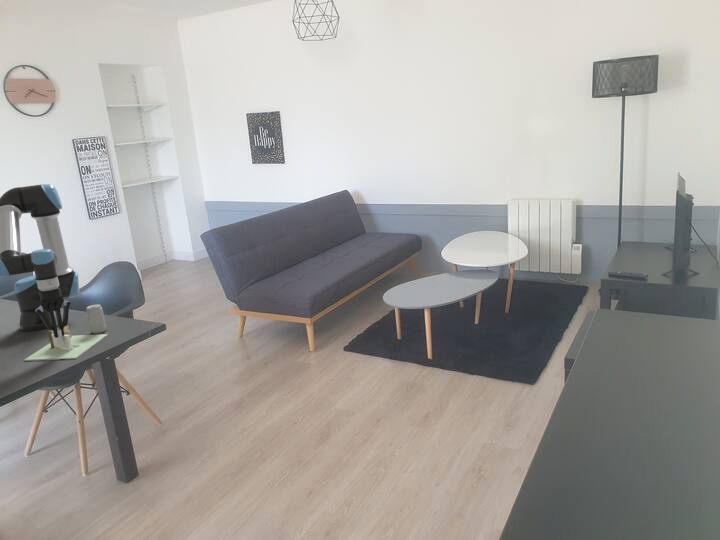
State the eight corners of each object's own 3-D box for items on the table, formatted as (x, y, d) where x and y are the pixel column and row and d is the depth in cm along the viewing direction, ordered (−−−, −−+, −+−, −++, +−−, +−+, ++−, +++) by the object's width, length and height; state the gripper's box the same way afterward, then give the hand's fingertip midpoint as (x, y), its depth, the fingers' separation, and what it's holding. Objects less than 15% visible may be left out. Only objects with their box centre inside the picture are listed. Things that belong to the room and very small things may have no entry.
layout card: (60, 337, 244) (60, 336, 244) (108, 335, 242) (107, 333, 241) (24, 361, 221) (23, 359, 221) (76, 359, 219) (76, 357, 218)
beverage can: (90, 335, 243) (85, 309, 240) (91, 330, 249) (86, 305, 246) (106, 332, 245) (101, 306, 242) (107, 327, 251) (101, 302, 248)
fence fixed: (67, 338, 243) (63, 320, 240) (72, 337, 242) (68, 320, 240) (50, 349, 231) (45, 331, 229) (55, 349, 230) (50, 331, 228)
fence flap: (53, 348, 230) (50, 334, 228) (58, 346, 232) (55, 332, 230) (68, 350, 226) (65, 336, 224) (73, 348, 228) (70, 334, 226)
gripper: (34, 293, 213) (47, 351, 219) (69, 285, 222) (80, 341, 228) (28, 290, 219) (41, 347, 224) (63, 283, 227) (74, 337, 233)
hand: (61, 344), depth 226 cm, fingers closed
